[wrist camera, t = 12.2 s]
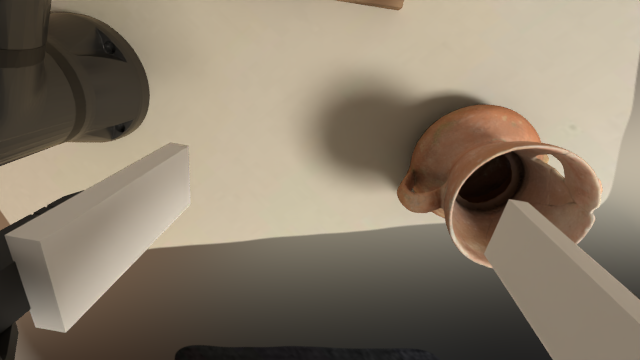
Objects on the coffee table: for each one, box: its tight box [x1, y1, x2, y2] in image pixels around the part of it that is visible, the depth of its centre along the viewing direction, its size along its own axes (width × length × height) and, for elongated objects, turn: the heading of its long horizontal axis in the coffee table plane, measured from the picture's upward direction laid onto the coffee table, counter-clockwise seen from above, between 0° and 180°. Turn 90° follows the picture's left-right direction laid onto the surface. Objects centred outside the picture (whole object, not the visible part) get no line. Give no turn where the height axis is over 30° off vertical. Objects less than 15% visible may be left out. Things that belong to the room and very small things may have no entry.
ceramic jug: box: [397, 105, 603, 268], centre depth 33 cm, size 18×14×14 cm
